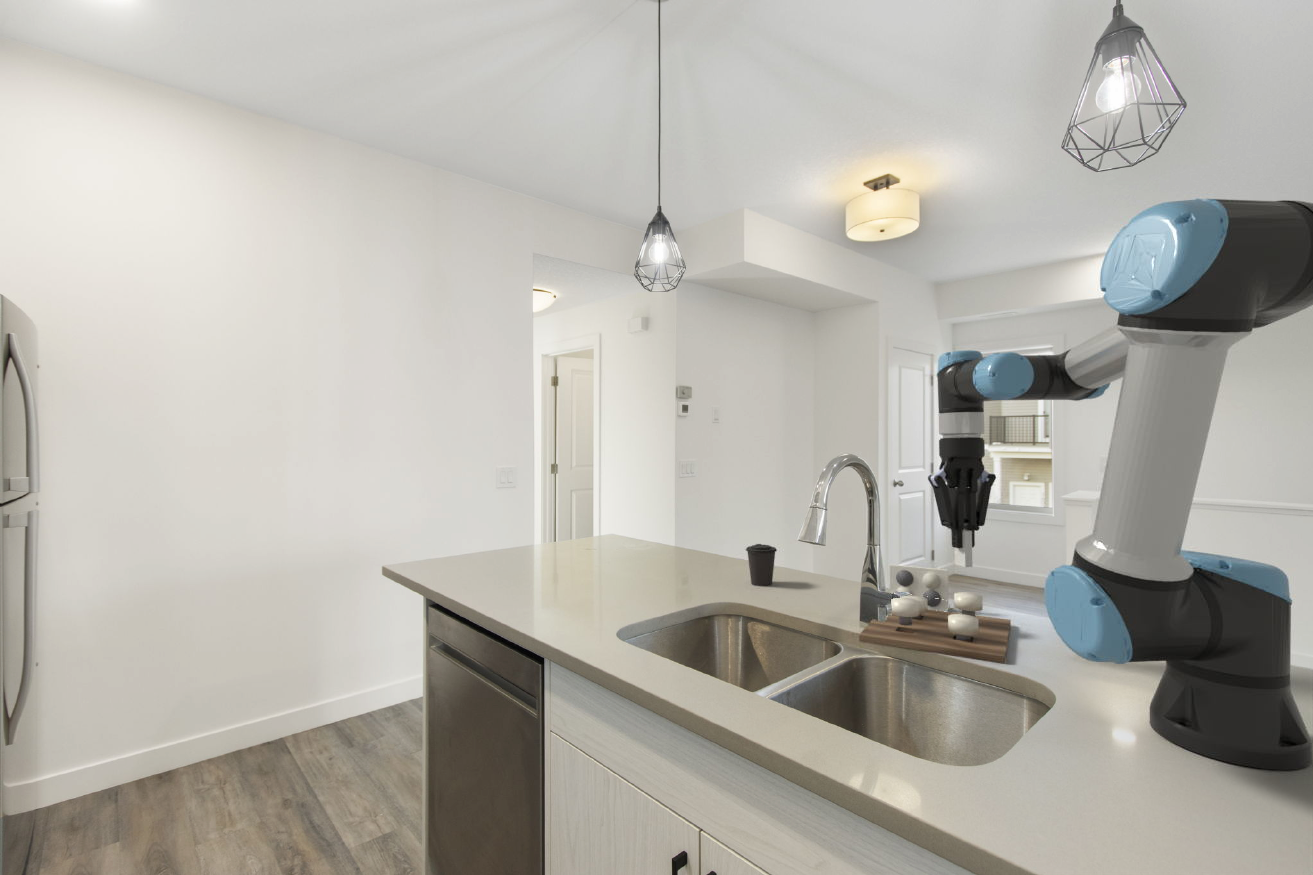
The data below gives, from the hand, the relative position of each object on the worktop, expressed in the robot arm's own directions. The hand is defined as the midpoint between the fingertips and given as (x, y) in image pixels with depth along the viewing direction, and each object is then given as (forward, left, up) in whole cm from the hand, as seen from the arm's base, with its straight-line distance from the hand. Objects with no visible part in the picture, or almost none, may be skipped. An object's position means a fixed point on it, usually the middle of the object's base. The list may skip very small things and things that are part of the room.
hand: (963, 565), depth 115 cm
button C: (+10, 0, -12) cm, 16 cm away
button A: (0, 0, -14) cm, 14 cm away
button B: (0, +10, -12) cm, 16 cm away
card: (+24, +11, -15) cm, 30 cm away
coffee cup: (+27, +50, -15) cm, 59 cm away
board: (+5, +5, -15) cm, 16 cm away
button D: (+10, +10, -14) cm, 20 cm away
